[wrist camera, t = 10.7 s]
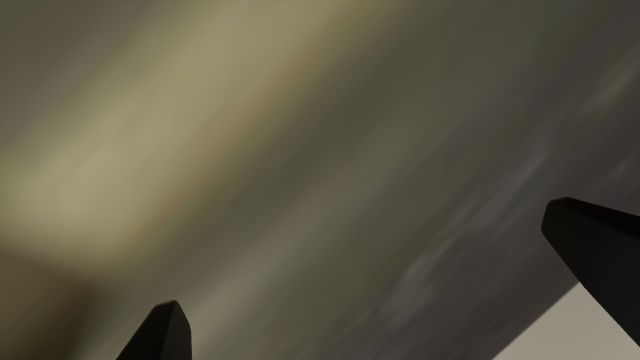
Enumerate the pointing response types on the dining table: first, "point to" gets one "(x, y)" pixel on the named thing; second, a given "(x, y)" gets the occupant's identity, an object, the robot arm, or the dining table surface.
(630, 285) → the robot arm
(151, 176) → the dining table surface
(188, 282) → the dining table surface
